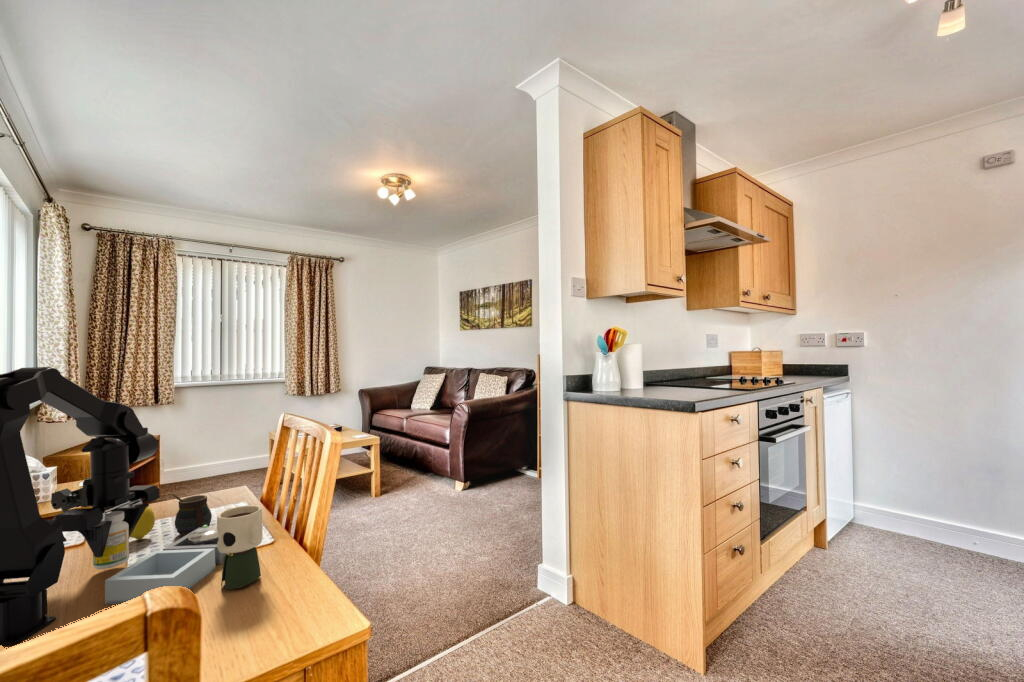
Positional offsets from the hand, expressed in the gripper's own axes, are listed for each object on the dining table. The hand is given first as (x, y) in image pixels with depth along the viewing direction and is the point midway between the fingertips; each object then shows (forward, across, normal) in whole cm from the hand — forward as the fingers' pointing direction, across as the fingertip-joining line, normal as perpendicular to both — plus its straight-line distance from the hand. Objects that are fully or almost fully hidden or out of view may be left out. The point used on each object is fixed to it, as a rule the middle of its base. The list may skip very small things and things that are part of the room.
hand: (111, 550), depth 90 cm
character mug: (+4, +7, +29) cm, 30 cm away
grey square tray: (+4, -6, +15) cm, 17 cm away
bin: (+4, +7, +15) cm, 17 cm away
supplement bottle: (+3, 0, 0) cm, 3 cm away
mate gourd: (+4, -18, +4) cm, 19 cm away
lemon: (+4, -15, -6) cm, 17 cm away
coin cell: (+2, -6, +15) cm, 16 cm away
